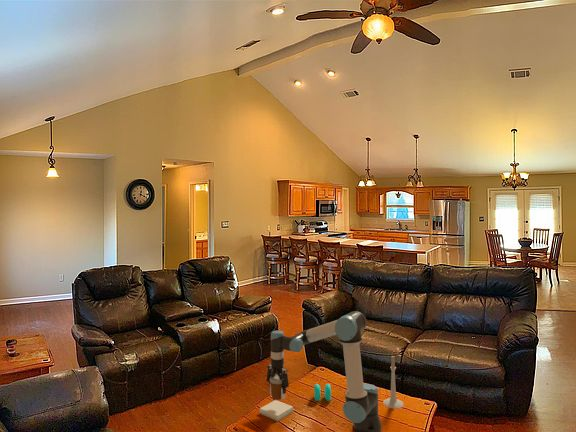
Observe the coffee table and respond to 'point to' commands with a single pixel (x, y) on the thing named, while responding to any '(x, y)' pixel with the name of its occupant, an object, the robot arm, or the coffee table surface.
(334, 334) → the robot arm
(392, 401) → the candlestick
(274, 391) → the disposable coffee cup
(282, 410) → the plinth
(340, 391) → the coffee table surface
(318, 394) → the teal wheels on axle
